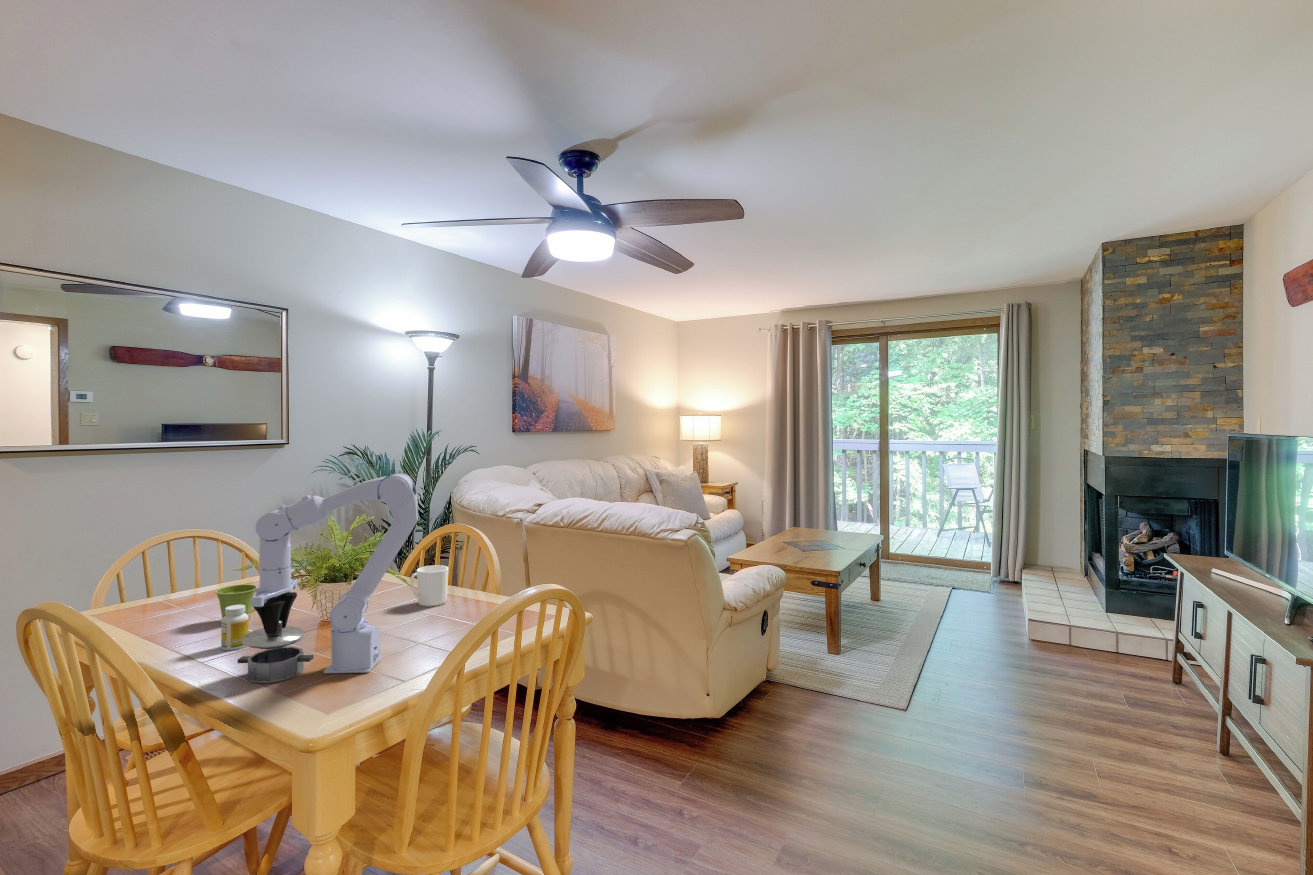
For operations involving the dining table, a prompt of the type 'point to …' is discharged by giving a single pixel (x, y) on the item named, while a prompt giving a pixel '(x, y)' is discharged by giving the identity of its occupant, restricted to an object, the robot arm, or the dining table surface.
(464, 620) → the dining table surface
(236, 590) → the plant pot
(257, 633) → the lid
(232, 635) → the supplement bottle
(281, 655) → the pot
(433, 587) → the mug
